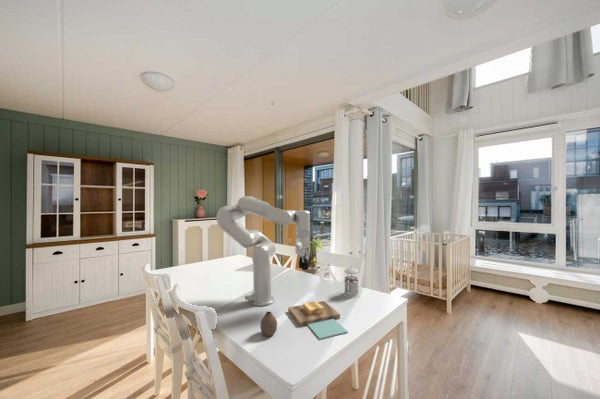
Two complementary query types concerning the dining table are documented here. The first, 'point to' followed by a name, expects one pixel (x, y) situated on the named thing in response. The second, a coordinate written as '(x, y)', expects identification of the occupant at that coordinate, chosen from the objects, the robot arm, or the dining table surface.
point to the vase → (268, 324)
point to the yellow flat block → (313, 308)
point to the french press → (351, 283)
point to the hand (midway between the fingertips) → (303, 268)
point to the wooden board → (305, 318)
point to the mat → (327, 328)
